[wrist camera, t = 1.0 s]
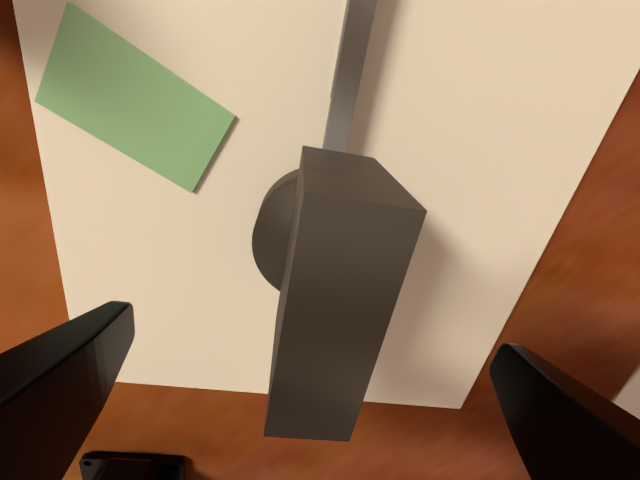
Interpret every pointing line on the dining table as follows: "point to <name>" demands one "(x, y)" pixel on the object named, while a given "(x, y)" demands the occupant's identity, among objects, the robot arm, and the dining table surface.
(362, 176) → the dark grey angled piece
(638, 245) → the dining table surface
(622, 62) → the dial plate
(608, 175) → the dining table surface
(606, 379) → the dining table surface
